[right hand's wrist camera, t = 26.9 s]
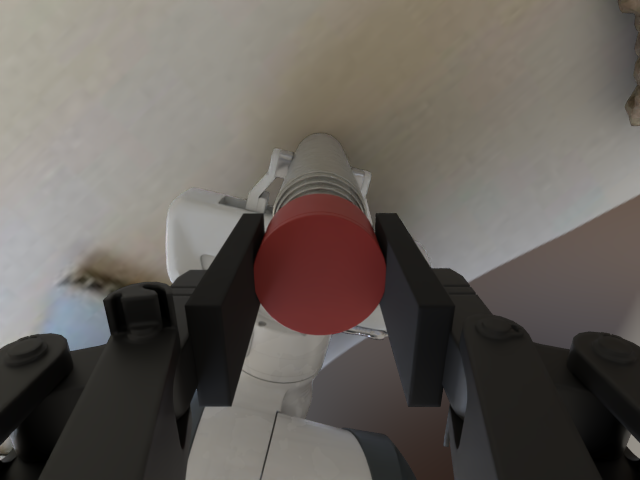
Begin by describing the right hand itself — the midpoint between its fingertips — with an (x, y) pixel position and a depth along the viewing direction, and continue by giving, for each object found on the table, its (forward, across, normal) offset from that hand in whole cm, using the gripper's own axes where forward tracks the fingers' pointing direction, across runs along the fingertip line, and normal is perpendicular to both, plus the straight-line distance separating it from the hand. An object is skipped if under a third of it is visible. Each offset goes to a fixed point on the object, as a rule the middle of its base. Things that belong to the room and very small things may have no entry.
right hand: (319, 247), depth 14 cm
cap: (-2, 0, 0) cm, 2 cm away
